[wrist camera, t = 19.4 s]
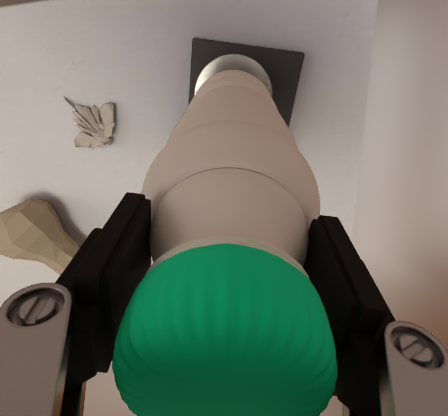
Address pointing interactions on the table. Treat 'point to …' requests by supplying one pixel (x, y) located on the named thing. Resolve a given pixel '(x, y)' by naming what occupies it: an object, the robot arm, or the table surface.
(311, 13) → the table surface
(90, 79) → the table surface
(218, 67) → the weigh plate
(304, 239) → the water bottle
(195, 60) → the scale
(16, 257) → the faceted club
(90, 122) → the flower
